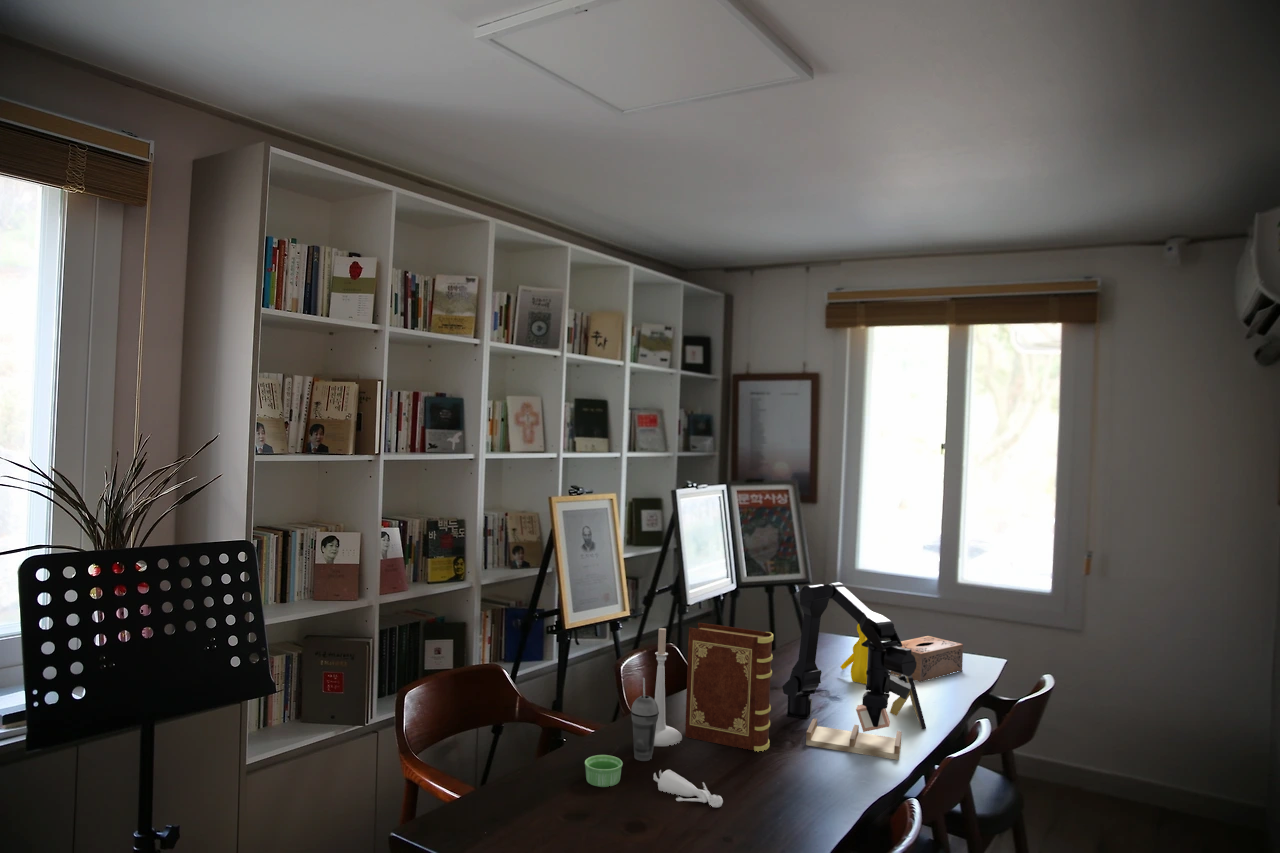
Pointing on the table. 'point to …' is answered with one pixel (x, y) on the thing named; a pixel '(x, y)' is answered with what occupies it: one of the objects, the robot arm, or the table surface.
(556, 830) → the table surface
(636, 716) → the beverage cup
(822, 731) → the ledge
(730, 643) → the decorative book
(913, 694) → the picture frame
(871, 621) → the robot arm
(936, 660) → the tissue box cover
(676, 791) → the woman figurine
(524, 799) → the table surface
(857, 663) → the figure statuette
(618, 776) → the ramekin
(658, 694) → the candlestick
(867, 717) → the frame block
